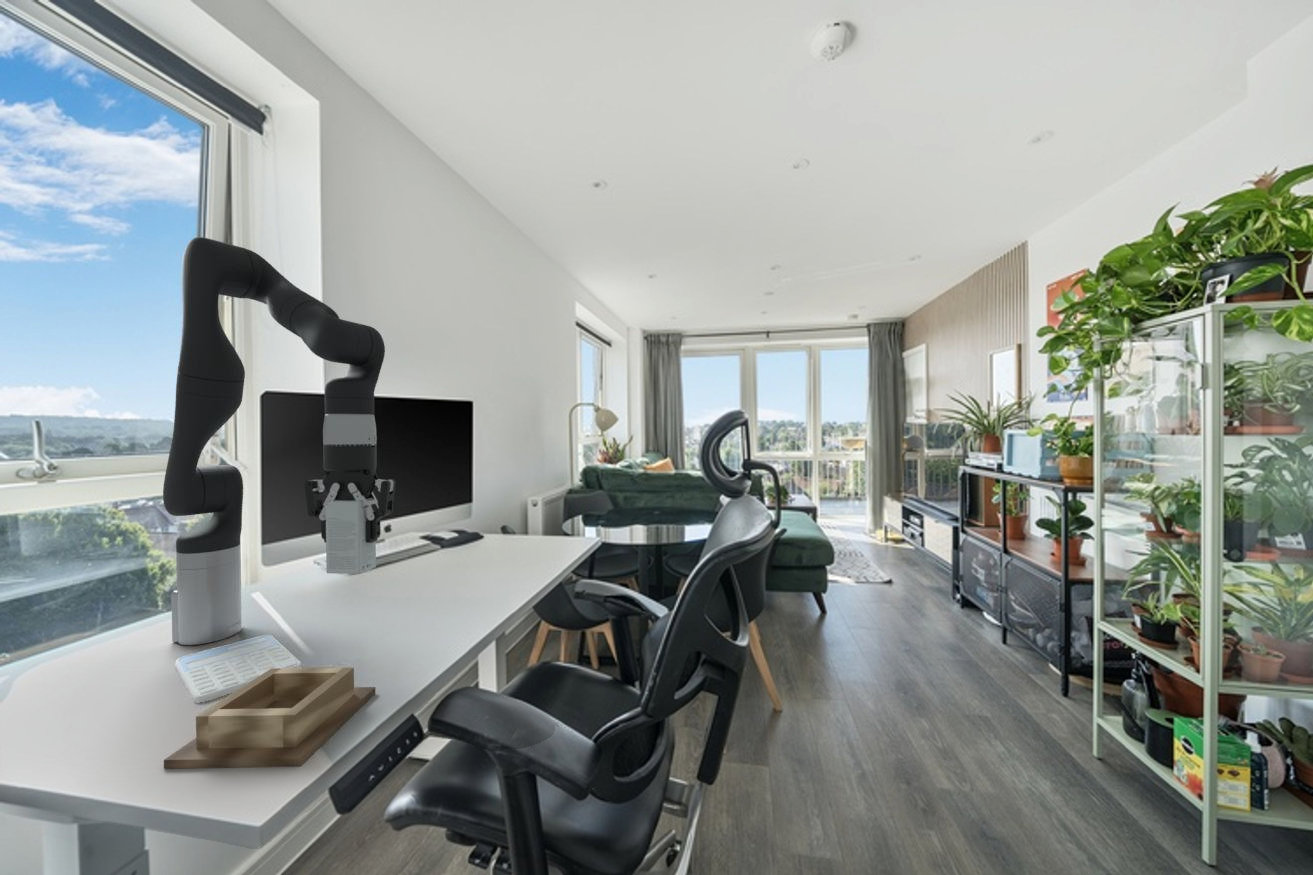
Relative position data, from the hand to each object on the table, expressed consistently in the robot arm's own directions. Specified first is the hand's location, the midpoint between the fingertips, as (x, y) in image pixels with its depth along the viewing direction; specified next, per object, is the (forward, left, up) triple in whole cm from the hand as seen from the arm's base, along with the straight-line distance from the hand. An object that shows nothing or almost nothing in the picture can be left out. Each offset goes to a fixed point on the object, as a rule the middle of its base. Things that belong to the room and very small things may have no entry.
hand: (351, 541), depth 81 cm
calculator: (-20, +1, -22) cm, 30 cm away
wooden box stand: (0, -16, -21) cm, 27 cm away
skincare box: (0, 0, -5) cm, 5 cm away
